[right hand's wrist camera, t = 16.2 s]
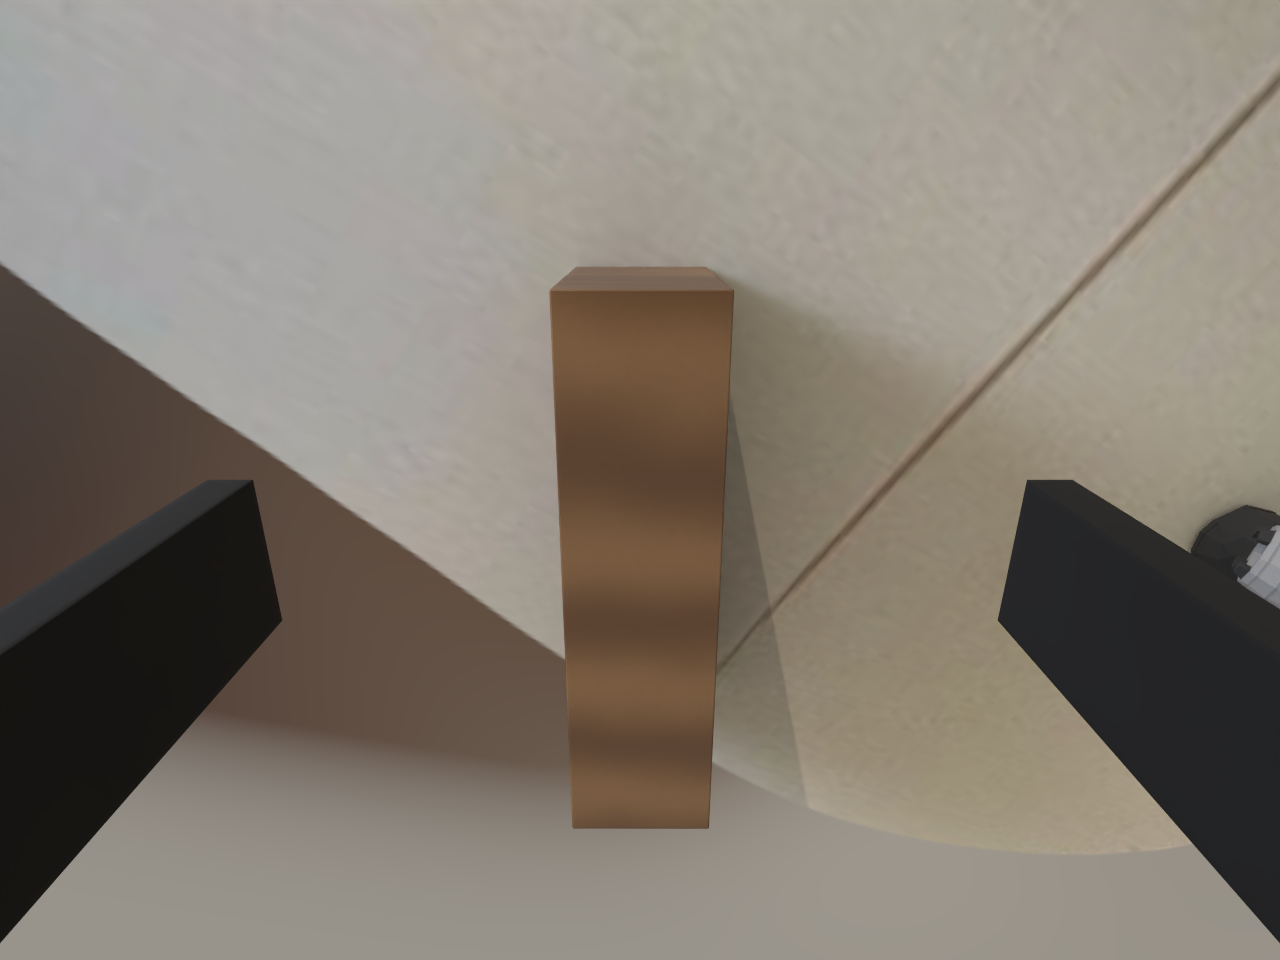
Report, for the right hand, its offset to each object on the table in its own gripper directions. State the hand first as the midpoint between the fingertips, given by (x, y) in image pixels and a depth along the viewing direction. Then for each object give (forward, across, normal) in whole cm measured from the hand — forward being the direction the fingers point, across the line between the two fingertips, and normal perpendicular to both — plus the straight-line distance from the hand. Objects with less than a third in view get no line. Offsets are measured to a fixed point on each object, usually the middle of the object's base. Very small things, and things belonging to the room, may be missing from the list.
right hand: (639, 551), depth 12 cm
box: (+22, 0, -8) cm, 23 cm away
